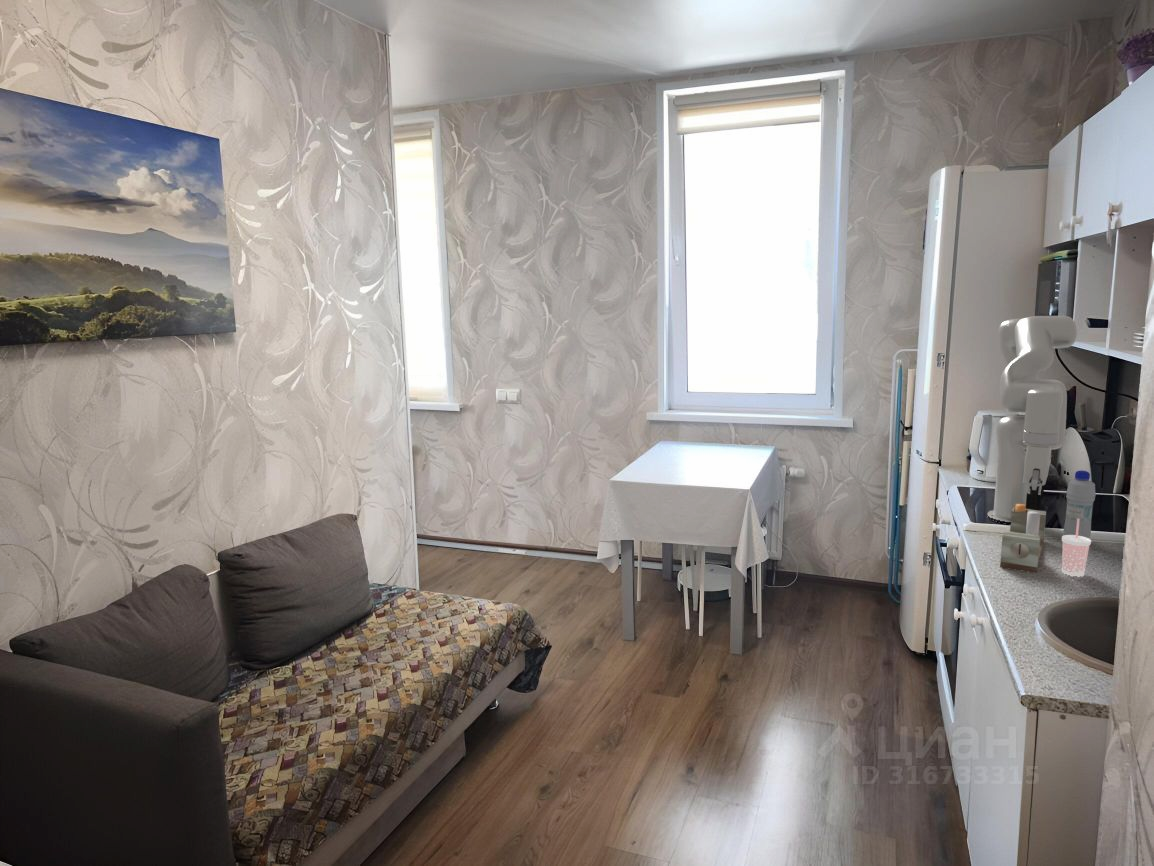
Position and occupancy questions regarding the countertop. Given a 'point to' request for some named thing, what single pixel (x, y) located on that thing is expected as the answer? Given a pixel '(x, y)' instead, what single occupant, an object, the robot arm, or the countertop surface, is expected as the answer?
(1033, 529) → the carriage
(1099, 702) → the countertop surface
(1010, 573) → the countertop surface
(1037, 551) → the rail stand
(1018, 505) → the button
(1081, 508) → the bottle
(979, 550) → the countertop surface
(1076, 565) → the beverage cup
